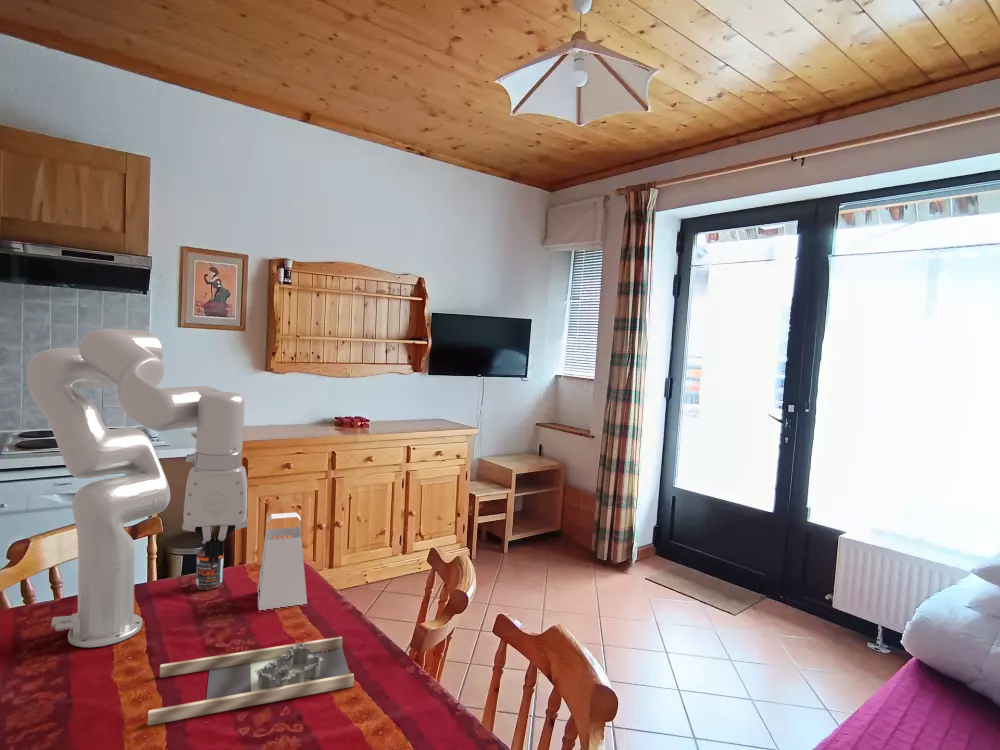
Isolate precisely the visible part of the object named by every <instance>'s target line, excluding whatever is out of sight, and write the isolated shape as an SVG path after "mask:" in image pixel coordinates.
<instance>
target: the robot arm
mask: <svg viewBox="0 0 1000 750" xmlns="http://www.w3.org/2000/svg"><path fill="white" fill-rule="evenodd" d="M163 357H164V348H163V344H162V342H161V340H160V339H159V338H158V336H156V335H155V334H154V333H152V332H150V331H149V330H148V331H147V330H141V329H121V328H102V329H101V328H100V329H96V330H93V331H91V332H89V333H86V335H84V337H82V339H81V341H80V343H79V346H78V347H56V348H49V349H44V350H41V351H39V352H37V353H36V354H33V356H32V357H31V359H30V360H29V362H28V364H27V370H26V376H27V377H26V379H27V386H28V390H29V393H30V394H31V397H32V399H33V400H34V403H35V404H36V406H37V407H38V408H39V410H40V411H41V412H42V414H43V416H45V419H46V420H47V421H48V423H49V425H50V428H51V431H52V434H53V436H54V439H55V441H56V444H57V447H58V450H59V452H60V454H61V455H60V456H61V457H62V460H63V463H64V465H65V467H66V469H67V471H68V473H69V474H70V475H71V476H73V477H74V478H76V479H91V478H97V477H105V476H110V475H116V474H120V473H121V474H122V473H124V475H123V476H122V475H121V476H115V477H110V478H105V479H100V480H96V481H93V482H91V483H88V484H85V485H83V486H82V487H80V488H79V489H78V491H76V493H75V494H74V495H73V497H72V503H71V508H72V515H73V519H74V523H75V529H76V535H77V564H78V565H77V612H76V613H71V615H66V616H64V615H61V616H54V617H52V619H51V623H50V624H51V625H50V626H51V628H55V632H60V631H61V632H62V631H65V630H69V631H68V634H67V642H68V643H69V644H71V645H72V646H74V647H78V648H98V647H105V646H110V645H113V644H116V643H119V642H122V641H125V640H127V639H130V638H131V637H132V636H135V635H136V634H137V633H139V631H141V629H142V627H143V618H142V617H141V616H140V615H138V614H136V613H134V612H135V558H136V557H135V550H136V548H135V541H134V539H133V537H132V536H131V535H130V534H129V533H128V532H127V531H126V530H125V528H124V525H125V524H127V523H130V522H133V521H137V520H140V519H145V518H148V517H151V516H154V515H157V514H160V513H161V512H163V511H164V510H165V509H166V508H167V507H168V506H169V504H170V501H171V488H170V485H169V482H168V479H167V477H166V474H165V472H164V469H163V466H162V464H161V461H160V459H159V457H158V454H157V452H156V450H155V446H154V445H153V442H152V441H151V439H150V437H149V436H148V435H147V434H146V433H145V432H144V431H142V430H141V429H139V428H135V427H119V428H112V429H111V428H108V427H106V425H105V424H104V422H103V419H102V418H101V417H102V416H101V414H100V412H99V410H98V409H97V407H96V406H95V405H94V404H93V403H92V402H91V401H90V400H89V399H88V398H86V397H85V396H84V395H82V394H80V393H78V392H77V391H76V389H88V388H90V389H91V388H110V387H117V388H116V389H117V398H118V402H119V403H120V404H119V405H120V406H121V408H122V411H123V412H124V413H125V414H126V415H127V416H128V417H130V418H131V419H132V420H134V421H135V422H137V423H138V424H139V425H142V427H145V428H147V429H149V430H152V431H157V432H166V431H175V430H181V429H190V428H191V429H192V428H196V441H195V452H193V453H190V454H188V453H187V454H186V456H185V457H186V458H185V462H186V463H191V464H192V465H194V466H192V467H191V469H189V472H188V474H187V475H188V476H187V480H186V484H185V485H186V486H185V494H184V502H183V522H182V525H181V529H182V530H183V531H188V532H195V533H196V534H198V535H199V536H200V537H201V538H202V539H203V541H205V557H209V561H208V563H212V562H213V559H214V562H215V563H216V562H218V561H219V556H223V552H225V551H224V550H225V547H224V546H225V539H226V538H227V537H228V536H229V535H230V534H232V532H233V531H235V530H241V529H244V528H247V527H248V526H249V525H248V523H249V522H248V517H247V513H248V478H247V471H246V466H243V465H242V462H243V461H242V460H243V459H242V458H243V444H244V443H243V442H244V441H243V440H244V424H245V423H244V422H245V405H246V404H245V399H244V397H243V395H242V394H239V393H236V392H231V391H221V390H219V389H217V388H215V387H212V386H206V385H205V386H203V385H202V386H201V385H200V386H198V385H197V386H196V385H195V386H175V387H161V388H160V387H158V386H159V384H160V383H161V382H162V380H163V378H164V375H165V365H164V362H163V361H162V360H163ZM212 527H220V528H219V532H218V533H217V534H216V536H215V535H214V532H213V528H212Z"/></svg>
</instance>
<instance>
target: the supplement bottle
mask: <svg viewBox="0 0 1000 750" xmlns="http://www.w3.org/2000/svg"><path fill="white" fill-rule="evenodd" d="M224 552H225V551H224ZM224 552H223V556H219V561H218V562H216V563H215V562H214V559H213V562H212V563H208V561H209V557H205V541H204V540H202V541H201V548H200V549H199V550H198V551H197V553H196V566H195V567H196V570H195V571H196V572H195V575H196V576H195V587H196V588H197V589H198V590H201V591H211V589H212V590H216V589H219V588H220V587H221V586H222V585H223V581H224V555H225V554H224ZM219 586H220V587H219ZM215 588H216V589H215Z"/></svg>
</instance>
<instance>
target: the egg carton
mask: <svg viewBox="0 0 1000 750" xmlns="http://www.w3.org/2000/svg"><path fill="white" fill-rule="evenodd" d="M303 642H304V641H302V642H299V643H300V644H297V643H295V644H296V645H295V646H292V647H291V648H290V649H289V650H288V652H287V653H286V654H283V655H280V657H279V658H277V659H276V660H274V661H271V662H269V663H268V664H267V665H265V666H264V667H263V668H261V669H259V670H256V671H255V672H256V675H258V687H259V688H260V689H265V688H275V687H280V686H286V685H291V684H297V683H302V682H304V680H305V679H307V678H317V677H318V676H319V671H320V661H323V659H322V658H321V657H318V656H317V654H314V656H313V655H311V652H310V649H309V648H308V647H306V646H305V645H304V644H302V643H303Z"/></svg>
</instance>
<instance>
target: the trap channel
mask: <svg viewBox="0 0 1000 750" xmlns="http://www.w3.org/2000/svg"><path fill="white" fill-rule="evenodd" d="M302 642H303V643H302V644H304V645H305V646H306V647H308V648H309V649H310V652H311V655H313V656H314V654H317V656H318V657H321V658H322V659H323V661H320V671H319V676H318V677H317V678H307V679H305V680H304V682H302V683H297V684H291V685H286V686H280V687H275V688H265V689H260V688H259V687H258V675H256V672H255V671H256V670H259V669H261V668H263V667H264V666H265V665H267V664H268V663H269V662H271V661H274V660H276V659H277V658H279V657H280V655H283V654H286V653H287V652H288V650H289V649H290V648H291V647H292V646H295V645H296V644H300V643H301V642H296V643H291V644H284V645H279V646H278V645H277V646H272V647H265V648H258V649H253V650H252V649H251V650H246V651H240V652H239V651H238V652H233V653H228V654H220V655H214V656H208V657H200V658H194V659H188V660H182V661H176V662H169V663H163V664H160V666H159V678H167V677H172V676H179V675H186V674H190V673H192V674H193V673H198V672H202V671H208V678H207V680H208V681H207V687H206V688H207V689H206V698H205V699H203V700H199V701H193V702H187V703H183V704H177V705H171V706H167V707H166V706H165V707H160V708H154V709H150V710H148V713H147V717H148V718H147V726H153V725H159V724H164V723H168V722H175V721H181V720H184V719H189V718H194V717H200V716H206V715H211V714H215V713H221V712H226V711H231V710H236V709H241V708H248V707H252V706H258V705H263V704H268V703H274V702H279V701H285V700H290V699H294V698H300V697H305V696H311V695H315V694H320V693H321V694H322V693H326V692H333V691H337V690H343V689H348V688H351V687H354V685H355V683H354V682H355V675H354V673H351V672H350V670H349V666H348V663H347V659H346V657H345V653H344V650H343V636H337V637H329V638H323V639H317V640H311V641H310V640H309V641H302ZM331 649H332V650H331ZM335 649H336V650H335ZM323 650H325V651H323ZM327 650H328V651H327ZM318 651H319V652H318ZM322 651H323V652H322ZM326 651H327V652H326Z"/></svg>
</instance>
